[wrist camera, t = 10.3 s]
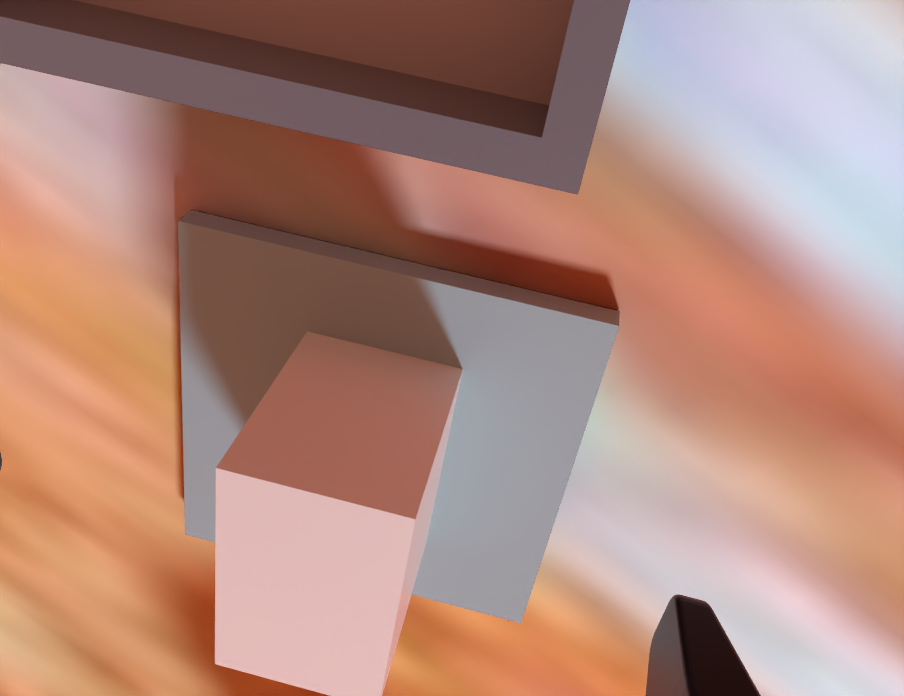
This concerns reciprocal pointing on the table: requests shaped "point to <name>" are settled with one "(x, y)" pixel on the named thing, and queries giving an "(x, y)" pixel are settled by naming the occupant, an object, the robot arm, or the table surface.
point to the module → (329, 515)
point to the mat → (413, 334)
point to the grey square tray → (354, 69)
